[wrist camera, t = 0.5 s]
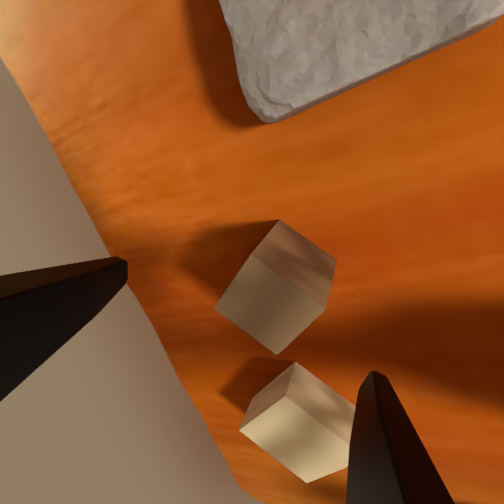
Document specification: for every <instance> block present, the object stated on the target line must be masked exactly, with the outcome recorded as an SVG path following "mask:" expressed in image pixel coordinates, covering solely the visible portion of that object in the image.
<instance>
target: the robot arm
mask: <svg viewBox="0 0 504 504" xmlns="http://www.w3.org/2000/svg"><path fill="white" fill-rule="evenodd" d="M127 279H128V264H127V261H126V260H124V259H122V258H120V257H109V258H103V259H98V260H91V261H85V262H79V263H73V264H67V265H61V266H55V267H49V268H43V269H37V270H31V271H25V272H19V273H13V274H7V275H1V276H0V401H2V400H3V399H4V398H5V397H6V396H7V395H8V394H9V393H11V392H12V391H13V390H14V389H15V388H16V387H17V386H18V385H19V384H21V383H22V382H23V381H24V380H25V379H26V378H27V377H28V376H29V375H31V374H32V373H33V372H34V371H35V370H36V369H37V368H38V367H39V366H41V365H42V364H43V363H44V362H45V361H46V360H47V359H48V358H49V357H51V356H52V355H53V354H54V353H55V352H56V351H57V350H58V349H60V347H62V346H63V345H64V344H65V343H66V342H67V341H68V340H70V338H72V337H73V336H74V335H75V334H76V333H77V332H78V331H80V330H81V329H82V328H83V327H84V326H85V325H86V324H87V323H88V322H90V321H91V320H92V319H93V318H94V317H95V316H96V315H97V314H98V313H99V312H100V311H101V310H102V309H103V308H104V307H105V306H106V305H107V303H108V302H109V301H110V300H111V299H112V298H113V297H114V296H115V294H117V292H118V291H119V290H120V289H121V288H122V287H123V286H124V285H125V284H126V282H127ZM346 504H455V503H454V501H453V500H452V498H451V496H450V494H449V492H448V490H447V488H446V486H445V485H444V483H443V481H442V479H441V477H440V475H439V473H438V471H437V470H436V468H435V466H434V464H433V462H432V460H431V458H430V456H429V455H428V453H427V451H426V449H425V447H424V445H423V443H422V442H421V440H420V438H419V436H418V434H417V432H416V430H415V428H414V427H413V425H412V423H411V421H410V419H409V417H408V415H407V413H406V412H405V410H404V408H403V406H402V404H401V402H400V400H399V398H398V397H397V395H396V393H395V391H394V389H393V387H392V385H391V384H390V382H389V380H388V378H387V377H386V376H385V375H383V374H381V373H379V372H377V371H374V370H373V371H371V372H370V373H369V374H368V376H367V377H366V379H365V380H364V382H363V383H362V385H361V386H360V388H359V392H358V397H357V402H356V408H355V414H354V419H353V425H352V431H351V437H350V445H349V459H348V476H347V494H346Z"/></svg>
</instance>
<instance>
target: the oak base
mask: <svg viewBox="0 0 504 504" xmlns="http://www.w3.org/2000/svg"><path fill="white" fill-rule="evenodd" d="M355 408H356V407H355V406H354V405H352V404H351V403H350V402H348V401H347V400H346V399H344V398H343V397H342V396H340V395H339V394H338V393H336V392H335V391H334V390H333V389H331V388H330V387H329V386H327V385H326V384H325V383H323V382H322V381H321V380H319V379H318V378H317V377H315V376H314V375H313V374H311V373H310V372H309V371H308V370H306V369H305V368H304V367H302V366H301V365H300V364H298V363H297V362H294V363H293V364H292V365H291V366H289V367H288V368H287V369H286V370H285V371H283V372H282V373H281V374H280V375H279V376H277V377H276V378H275V379H274V380H273V381H271V382H270V383H269V384H268V385H267V386H265V387H264V388H263V389H262V390H261V391H259V392H258V393H257V394H256V395H255V396H253V397H252V400H251V402H250V404H249V407H248V409H247V412H246V414H245V417H244V419H243V421H242V424H241V426H240V429H239V431H240V432H242V433H243V434H244V435H246V436H247V437H248V438H249V439H251V440H252V441H253V442H255V443H256V444H257V445H258V446H260V447H261V448H262V449H263V450H265V451H266V452H267V453H269V454H270V455H271V456H272V457H274V458H275V459H276V460H278V461H279V462H280V463H281V464H283V465H284V466H285V467H287V468H288V469H289V470H290V471H292V472H293V473H294V474H296V475H297V476H298V477H299V478H301V479H302V480H303V481H305V482H306V483H309V482H311V481H314V480H316V479H319V478H321V477H323V476H326V475H328V474H331V473H333V472H336V471H338V470H341V469H343V468H346V467H348V459H349V445H350V437H351V431H352V425H353V419H354V414H355Z"/></svg>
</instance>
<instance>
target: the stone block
mask: <svg viewBox="0 0 504 504" xmlns="http://www.w3.org/2000/svg"><path fill="white" fill-rule="evenodd" d="M219 3H220V6H221V9H222V13H223V16H224V18H225V21H226V24H227V26H228V29H229V32H230V35H231V38H232V43H233V51H234V56H235V61H236V67H237V74H238V79H239V82H240V86H241V89H242V92H243V94H244V96H245V99H246V101H247V104H248V106H249V108H250V109H251V110H252V111H253V112H254V113H255V114H256V115H257V116H258V117H259V118H260V119H261V120H262V121H263V122H267V123H273V122H280V121H282V120H284V119H286V118H288V117H291V116H293V115H295V114H298V113H300V112H302V111H304V110H306V109H308V108H311V107H313V106H315V105H317V104H319V103H321V102H324V101H326V100H328V99H330V98H333V97H335V96H337V95H339V94H341V93H344V92H346V91H348V90H350V89H352V88H355V87H357V86H359V85H361V84H363V83H366V82H368V81H370V80H372V79H374V78H376V77H379V76H381V75H383V74H385V73H387V72H390V71H392V70H394V69H396V68H398V67H400V66H402V65H405V64H407V63H409V62H411V61H413V60H416V59H418V58H420V57H422V56H425V55H427V54H429V53H432V52H434V51H437V50H439V49H440V48H442V47H445V46H447V45H450V44H452V43H454V42H456V41H458V40H460V39H463V38H466V37H468V36H470V35H472V34H474V33H476V32H478V31H480V30H481V29H483V28H485V27H487V26H489V25H491V24H493V23H494V22H495V21H496V20H497V19H499V18H500V17H501V16H502V15H503V14H504V0H219Z"/></svg>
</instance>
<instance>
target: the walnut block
mask: <svg viewBox="0 0 504 504" xmlns="http://www.w3.org/2000/svg"><path fill="white" fill-rule="evenodd" d="M336 261H337V260H336V259H334V258H333V257H331V256H330V255H329V254H327V253H326V252H324V251H323V250H322V249H320V248H319V247H317V246H316V245H315V244H313V243H312V242H310V241H309V240H308V239H306V238H305V237H303V236H302V235H301V234H299V233H298V232H297V231H295V230H294V229H292V228H291V227H290V226H288V225H287V224H285V223H284V222H283V221H281V220H279V221H278V222H277V223H276V224H275V226H274V227H273V228H272V229H271V230H270V232H269V233H268V234H267V235H266V236H265V238H264V239H263V240H262V241H261V242H260V244H259V245H258V246H257V247H256V248H255V250H254V251H253V252H252V253H251V255H250V256H249V257H248V259H247V260H246V262H245V263H244V265H243V266H242V268H241V269H240V271H239V272H238V274H237V275H236V276H235V278H234V279H233V281H232V282H231V284H230V285H229V287H228V288H227V290H226V291H225V292H224V294H223V295H222V297H221V298H220V300H219V301H218V303H217V304H216V306H215V307H214V309H215V310H216V311H218V312H219V313H221V314H222V315H223V316H225V317H226V318H227V319H229V320H230V321H231V322H233V323H234V324H235V325H237V326H238V327H239V328H241V329H242V330H243V331H245V332H246V333H247V334H249V335H250V336H252V337H253V338H254V339H256V340H257V341H258V342H260V343H261V344H262V345H264V346H265V347H266V348H268V349H269V350H270V351H272V352H273V353H274V354H276V355H278V354H279V353H280V352H281V351H282V350H284V349H285V348H286V347H287V346H288V345H289V344H290V343H291V342H292V341H293V340H294V339H295V338H296V337H297V336H298V335H299V334H300V333H301V332H303V331H304V330H305V329H306V328H307V327H308V326H309V325H310V324H311V323H312V322H313V321H314V320H315V319H316V318H317V317H318V316H319V315H320V314H321V313H323V312H324V311H325V310H326V307H327V302H328V298H329V293H330V288H331V284H332V279H333V275H334V270H335V265H336Z"/></svg>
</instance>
